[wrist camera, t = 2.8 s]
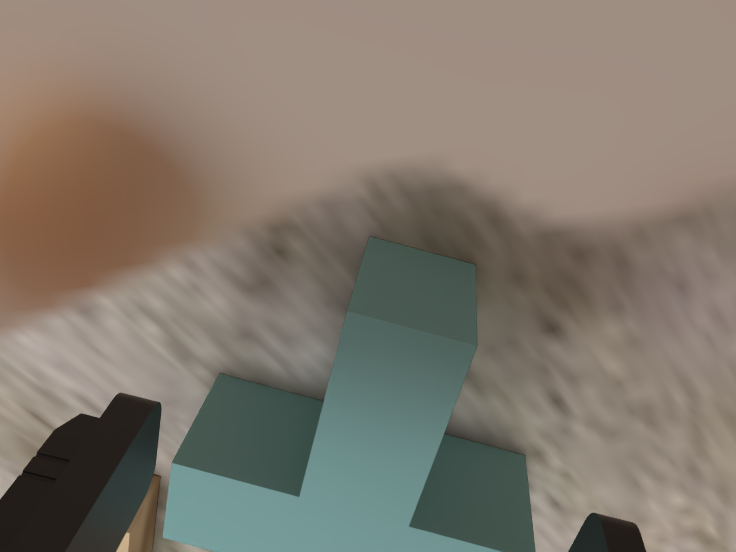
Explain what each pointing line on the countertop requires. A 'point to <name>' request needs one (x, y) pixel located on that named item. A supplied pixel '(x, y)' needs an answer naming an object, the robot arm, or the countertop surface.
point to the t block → (358, 437)
